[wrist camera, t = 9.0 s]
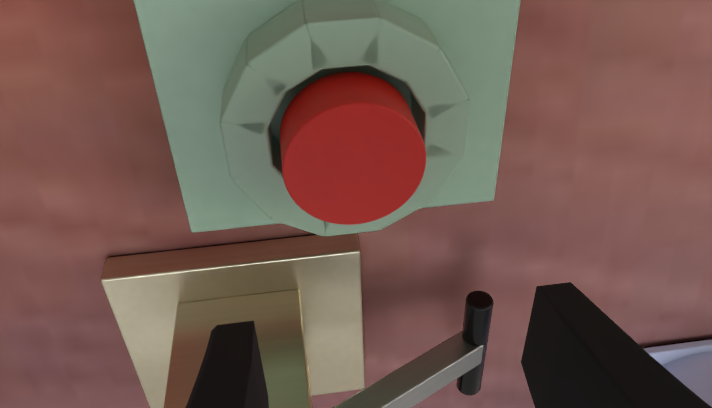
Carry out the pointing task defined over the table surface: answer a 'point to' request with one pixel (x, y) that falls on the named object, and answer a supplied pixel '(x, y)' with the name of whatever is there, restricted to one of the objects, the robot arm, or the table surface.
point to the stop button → (350, 149)
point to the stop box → (307, 64)
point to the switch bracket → (244, 314)
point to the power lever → (436, 364)
